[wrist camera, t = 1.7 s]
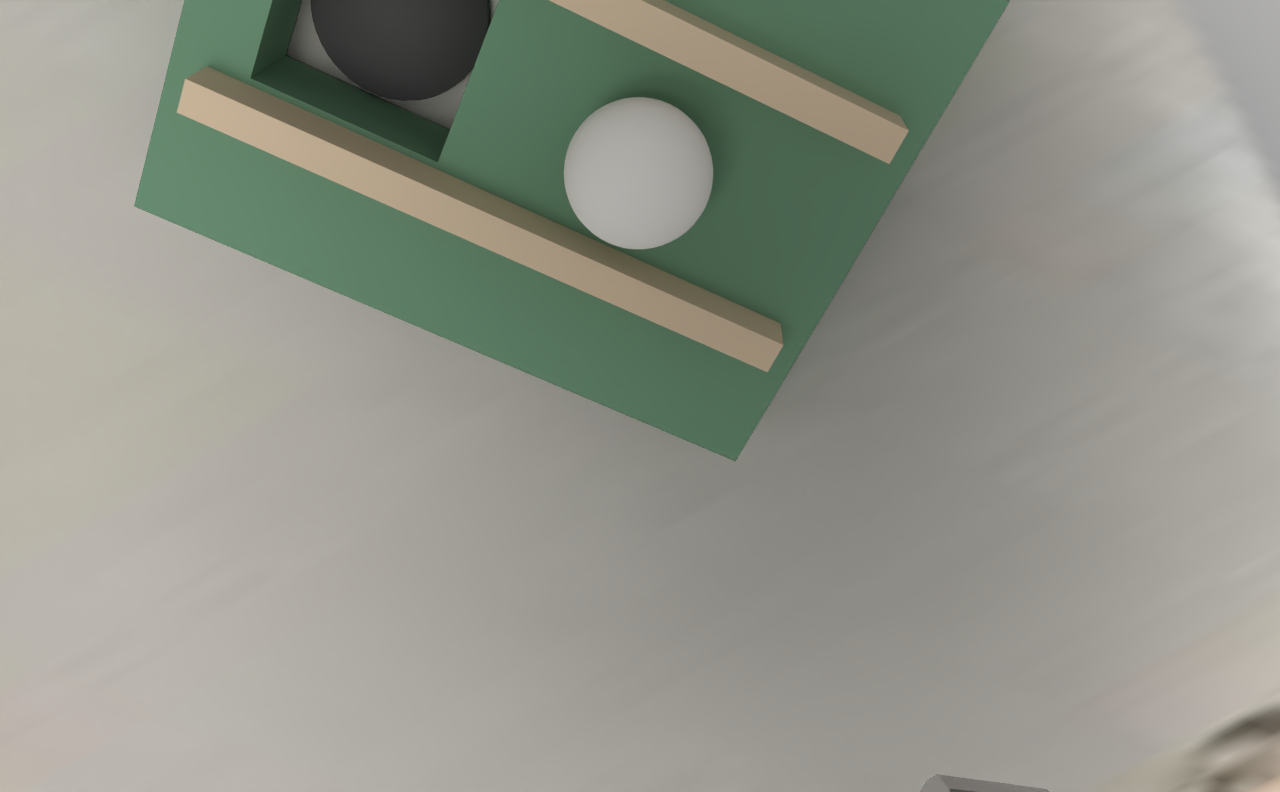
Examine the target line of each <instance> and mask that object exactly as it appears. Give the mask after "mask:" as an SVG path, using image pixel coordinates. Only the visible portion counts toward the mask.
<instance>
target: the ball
mask: <svg viewBox="0 0 1280 792" xmlns="http://www.w3.org/2000/svg"><path fill="white" fill-rule="evenodd" d="M712 183H713V163H712V157H711V154H710V150H709V147H708V144H707V142H706V139H705V137H704V136H703V134H702V132H701V131H700V129H699V128H698V127H697V125H696V124H695V123H694V122H693V121H692V120H691V119H690V118H689V117H688V116H687V115H686V114H685V113H683V112H682V111H681V110H679V109H678V108H676V107H674V106H673V105H671V104H669V103H666V102H663V101H661V100H657V99H653V98H646V97H631V98H624V99H620V100H617V101H614V102H611V103H609V104H607V105H604V106H603V107H601V108H599V109H598V110H596V111H595V112H593V113H592V114H591V115H590V116H589V117H588V118H587V119H586V120H585V121H584V122H583V123H582V124H581V125H580V127H579V128H578V130H577V131H576V132H575V134H574V136H573V138H572V140H571V142H570V144H569V147H568V150H567V153H566V158H565V163H564V184H565V189H566V193H567V196H568V199H569V202H570V205H571V207H572V209H573V211H574V213H575V214H576V216H577V217H578V219H579V220H580V221H581V222H582V223H583V225H584V226H585V227H586V228H587V229H588V230H590V231H591V232H592V233H593V234H594V235H596V236H597V237H599V238H600V239H602V240H604V241H606V242H607V243H610V244H612V245H615V246H618V247H622V248H627V249H649V248H655V247H658V246H662V245H664V244H667V243H669V242H672V241H673V240H675V239H677V238H679V237H680V236H681V235H683V234H684V233H685V232H687V231H688V230H689V229H690V228H691V227H692V226H693V225H694V224H695V222H696V221H697V220H698V218H699V217H700V216H701V214H702V212H703V211H704V209H705V207H706V205H707V202H708V200H709V197H710V193H711V189H712Z"/></svg>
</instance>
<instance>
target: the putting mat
mask: <svg viewBox="0 0 1280 792" xmlns="http://www.w3.org/2000/svg"><path fill="white" fill-rule="evenodd" d="M301 1H302V0H185V1H184V5H183V9H182V13H181V17H180V21H179V25H178V29H177V33H176V37H175V41H174V46H173V50H172V54H171V58H170V62H169V66H168V70H167V74H166V78H165V82H164V86H163V91H162V95H161V99H160V103H159V107H158V111H157V115H156V119H155V123H154V127H153V131H152V135H151V140H150V144H149V148H148V152H147V156H146V160H145V164H144V168H143V172H142V176H141V180H140V184H139V189H138V193H137V197H136V201H135V205H134V206H135V207H137V208H140V209H142V210H144V211H147V212H149V213H151V214H154V215H156V216H158V217H161V218H163V219H165V220H168V221H170V222H173V223H175V224H177V225H180V226H182V227H184V228H187V229H189V230H191V231H194V232H196V233H198V234H201V235H203V236H206V237H208V238H210V239H213V240H215V241H217V242H220V243H222V244H224V245H227V246H229V247H231V248H234V249H236V250H239V251H241V252H243V253H246V254H248V255H250V256H253V257H255V258H257V259H260V260H262V261H264V262H267V263H269V264H272V265H274V266H276V267H279V268H281V269H283V270H286V271H288V272H290V273H293V274H295V275H297V276H300V277H302V278H305V279H307V280H309V281H312V282H314V283H316V284H319V285H321V286H323V287H326V288H328V289H330V290H333V291H335V292H338V293H340V294H342V295H345V296H347V297H349V298H352V299H354V300H356V301H359V302H361V303H363V304H366V305H368V306H371V307H373V308H375V309H378V310H380V311H382V312H385V313H387V314H389V315H392V316H394V317H396V318H399V319H401V320H404V321H406V322H408V323H411V324H413V325H415V326H418V327H420V328H422V329H425V330H427V331H430V332H432V333H434V334H437V335H439V336H441V337H444V338H446V339H448V340H451V341H453V342H455V343H458V344H460V345H463V346H465V347H467V348H470V349H472V350H474V351H477V352H479V353H481V354H484V355H486V356H488V357H491V358H493V359H496V360H498V361H500V362H503V363H505V364H507V365H510V366H512V367H514V368H517V369H519V370H521V371H524V372H526V373H529V374H531V375H533V376H536V377H538V378H540V379H543V380H545V381H547V382H550V383H552V384H554V385H557V386H559V387H562V388H564V389H566V390H569V391H571V392H573V393H576V394H578V395H580V396H583V397H585V398H587V399H590V400H592V401H595V402H597V403H599V404H602V405H604V406H606V407H609V408H611V409H613V410H616V411H618V412H620V413H623V414H625V415H628V416H630V417H632V418H635V419H637V420H639V421H642V422H644V423H646V424H649V425H651V426H653V427H656V428H658V429H661V430H663V431H665V432H668V433H670V434H672V435H675V436H677V437H679V438H682V439H684V440H686V441H689V442H691V443H694V444H696V445H698V446H701V447H703V448H705V449H708V450H710V451H712V452H715V453H717V454H719V455H722V456H724V457H727V458H729V459H731V460H734V461H736V459H737V458H738V456H739V454H740V453H741V451H742V449H743V448H744V446H745V444H746V443H747V441H748V439H749V438H750V436H751V434H752V433H753V431H754V429H755V428H756V426H757V424H758V423H759V421H760V419H761V417H762V416H763V414H764V412H765V411H766V409H767V407H768V406H769V404H770V402H771V401H772V399H773V397H774V396H775V394H776V392H777V391H778V389H779V387H780V386H781V384H782V382H783V381H784V379H785V377H786V376H787V374H788V372H789V371H790V369H791V367H792V365H793V364H794V362H795V360H796V359H797V357H798V355H799V354H800V352H801V350H802V349H803V347H804V345H805V344H806V342H807V340H808V339H809V337H810V335H811V334H812V332H813V330H814V329H815V327H816V325H817V324H818V322H819V320H820V318H821V317H822V315H823V313H824V312H825V310H826V308H827V307H828V305H829V303H830V302H831V300H832V298H833V297H834V295H835V293H836V292H837V290H838V288H839V287H840V285H841V283H842V282H843V280H844V278H845V277H846V275H847V273H848V271H849V270H850V268H851V266H852V265H853V263H854V261H855V260H856V258H857V256H858V255H859V253H860V251H861V250H862V248H863V246H864V245H865V243H866V241H867V240H868V238H869V236H870V235H871V233H872V231H873V230H874V228H875V226H876V224H877V223H878V221H879V219H880V218H881V216H882V214H883V213H884V211H885V209H886V208H887V206H888V204H889V203H890V201H891V199H892V198H893V196H894V194H895V193H896V191H897V189H898V188H899V186H900V184H901V183H902V181H903V179H904V177H905V176H906V174H907V172H908V171H909V169H910V167H911V166H912V164H913V162H914V161H915V159H916V157H917V156H918V154H919V152H920V151H921V149H922V147H923V146H924V144H925V142H926V141H927V139H928V137H929V136H930V134H931V132H932V130H933V129H934V127H935V125H936V124H937V122H938V120H939V119H940V117H941V115H942V114H943V112H944V110H945V109H946V107H947V105H948V104H949V102H950V100H951V99H952V97H953V95H954V94H955V92H956V90H957V89H958V87H959V85H960V83H961V82H962V80H963V78H964V77H965V75H966V73H967V72H968V70H969V68H970V67H971V65H972V63H973V62H974V60H975V58H976V57H977V55H978V53H979V52H980V50H981V48H982V47H983V45H984V43H985V42H986V40H987V38H988V37H989V35H990V33H991V31H992V30H993V28H994V26H995V25H996V23H997V21H998V20H999V18H1000V16H1001V15H1002V13H1003V11H1004V10H1005V8H1006V6H1007V5H1008V3H1009V1H1010V0H499V2H498V5H497V7H496V10H495V12H494V15H493V18H492V20H491V23H490V26H489V2H488V0H311V11H312V17H313V22H314V25H315V29H316V32H317V34H318V36H319V39H320V41H321V43H322V45H323V47H324V49H325V51H326V52H327V54H328V55H329V57H330V58H331V59H332V61H333V62H334V63H335V65H336V66H337V67H338V68H339V69H340V70H341V71H342V72H343V73H344V74H345V75H346V76H347V77H348V78H350V79H351V80H352V81H353V82H355V83H356V84H358V85H359V86H361V87H362V88H364V89H366V90H368V91H370V92H372V93H375V94H377V95H380V96H383V97H387V98H391V99H396V100H421V99H427V98H430V97H433V96H437V95H439V94H441V93H443V92H445V91H447V90H449V89H450V88H452V87H453V86H455V85H456V84H457V83H459V82H460V81H461V80H462V79H463V78H464V77H465V76H466V75H467V74H468V72H469V71H470V70H471V69H472V68H473V66H474V68H473V71H472V73H471V76H470V79H469V81H468V84H467V86H466V89H465V92H464V94H463V97H462V100H461V102H460V105H459V108H458V110H457V113H456V115H455V118H454V121H453V123H452V126H451V129H450V130H449V129H446V128H444V127H442V126H440V125H438V124H435V123H433V122H431V121H429V120H427V119H424V118H422V117H420V116H418V115H416V114H413V113H411V112H409V111H407V110H405V109H402V108H400V107H398V106H396V105H394V104H391V103H389V102H387V101H385V100H383V99H381V98H378V97H376V96H374V95H372V94H370V93H367V92H365V91H363V90H361V89H359V88H356V87H354V86H352V85H350V84H348V83H345V82H343V81H341V80H339V79H337V78H334V77H332V76H330V75H328V74H326V73H323V72H321V71H319V70H317V69H315V68H312V67H310V66H308V65H306V64H304V63H301V62H299V61H297V60H295V59H293V58H290V57H288V56H286V52H287V49H288V46H289V42H290V39H291V35H292V32H293V29H294V25H295V22H296V18H297V15H298V12H299V8H300V5H301ZM631 97H646V98H653V99H657V100H661V101H663V102H666V103H669V104H671V105H673V106H674V107H676V108H678V109H679V110H681V111H682V112H683V113H685V114H686V115H687V116H688V117H689V118H690V119H691V120H692V121H693V122H694V123H695V124H696V125H697V127H698V128H699V129H700V131H701V132H702V134H703V136H704V137H705V139H706V142H707V144H708V147H709V150H710V154H711V157H712V163H713V183H712V189H711V193H710V197H709V200H708V202H707V205H706V207H705V209H704V211H703V212H702V214H701V216H700V217H699V218H698V220H697V221H696V222H695V224H694V225H693V226H692V227H691V228H690V229H689V230H688V231H687V232H685V233H684V234H683V235H681V236H680V237H679V238H677V239H675V240H673V241H672V242H669V243H667V244H664V245H662V246H658V247H655V248H649V249H627V248H622V247H618V246H615V245H612V244H610V243H607V242H606V241H604V240H602V239H600V238H599V237H597V236H596V235H594V234H593V233H592V232H591V231H590V230H588V229H587V228H586V227H585V226H584V225H583V223H582V222H581V221H580V220H579V219H578V217H577V216H576V214H575V213H574V211H573V209H572V207H571V205H570V202H569V199H568V196H567V193H566V189H565V184H564V163H565V158H566V153H567V150H568V147H569V144H570V142H571V140H572V138H573V136H574V134H575V132H576V131H577V130H578V128H579V127H580V125H581V124H582V123H583V122H584V121H585V120H586V119H587V118H588V117H589V116H590V115H591V114H592V113H593V112H595V111H596V110H598V109H599V108H601V107H603V106H604V105H607V104H609V103H611V102H614V101H617V100H620V99H624V98H631Z"/></svg>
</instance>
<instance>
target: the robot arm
mask: <svg viewBox="0 0 1280 792" xmlns="http://www.w3.org/2000/svg"><path fill="white" fill-rule="evenodd" d="M920 792H1049V791H1048V790H1046V789H1042V788H1034V787H1027V786H1019V785H1012V784H1005V783H997V782H990V781H982V780H975V779H967V778H960V777H953V776H945V775H938V774H937V775H935V776H934V777H932V778H930V779H929V780H927V781H926V782H925V784H924V786H923V788H922V789H921V791H920Z"/></svg>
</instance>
